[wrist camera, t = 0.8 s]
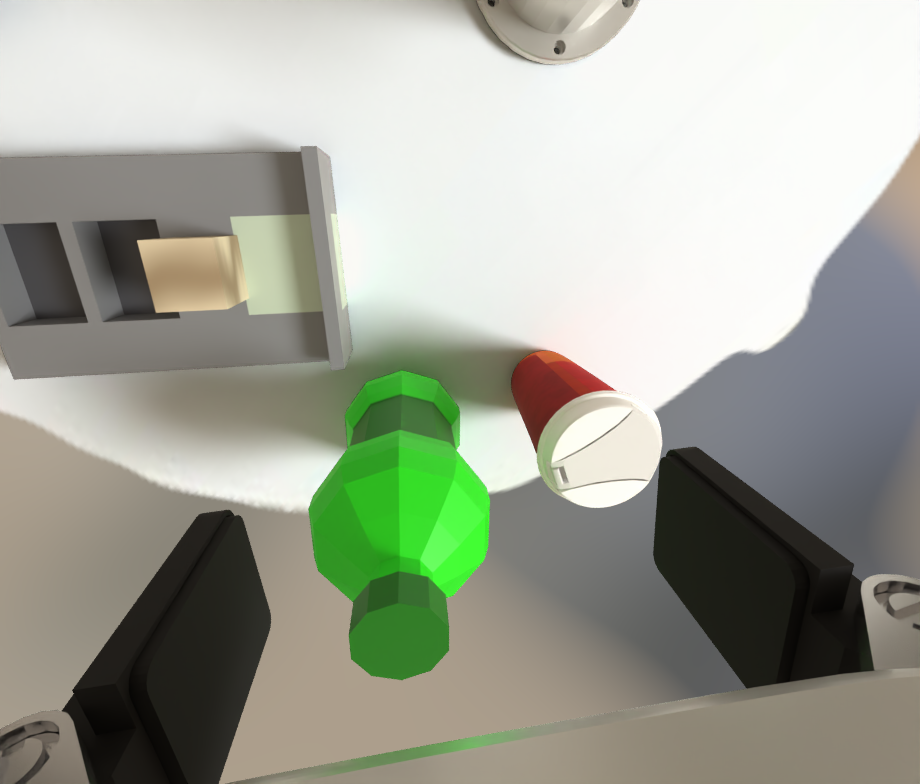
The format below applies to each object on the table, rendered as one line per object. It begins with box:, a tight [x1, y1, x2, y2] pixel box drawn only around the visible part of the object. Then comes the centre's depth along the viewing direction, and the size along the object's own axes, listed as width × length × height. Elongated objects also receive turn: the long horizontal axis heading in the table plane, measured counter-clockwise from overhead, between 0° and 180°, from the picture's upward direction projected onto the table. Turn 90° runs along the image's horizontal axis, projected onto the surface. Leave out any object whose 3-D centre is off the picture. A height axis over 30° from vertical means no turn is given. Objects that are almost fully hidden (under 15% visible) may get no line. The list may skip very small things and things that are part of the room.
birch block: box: [137, 235, 249, 313], centre depth 32 cm, size 4×4×4 cm
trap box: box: [0, 146, 353, 379], centre depth 34 cm, size 15×25×6 cm, turn 92°
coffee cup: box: [511, 351, 662, 508], centre depth 36 cm, size 8×8×15 cm
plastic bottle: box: [309, 370, 490, 680], centre depth 31 cm, size 10×10×25 cm
